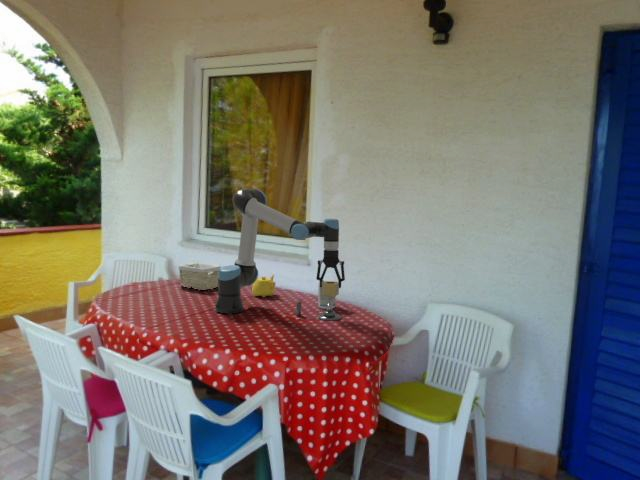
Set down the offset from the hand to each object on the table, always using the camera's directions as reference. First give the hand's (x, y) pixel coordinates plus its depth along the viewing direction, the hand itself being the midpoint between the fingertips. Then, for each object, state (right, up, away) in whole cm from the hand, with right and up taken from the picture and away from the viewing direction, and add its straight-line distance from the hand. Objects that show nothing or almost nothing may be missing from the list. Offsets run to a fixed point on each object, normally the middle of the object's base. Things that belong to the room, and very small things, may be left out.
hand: (330, 293), depth 251 cm
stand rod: (-16, -12, +4) cm, 20 cm away
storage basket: (-82, -3, +64) cm, 104 cm away
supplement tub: (-2, -10, +22) cm, 24 cm away
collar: (0, 0, 0) cm, 0 cm away
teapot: (-38, -6, +47) cm, 61 cm away
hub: (0, -12, +2) cm, 12 cm away
